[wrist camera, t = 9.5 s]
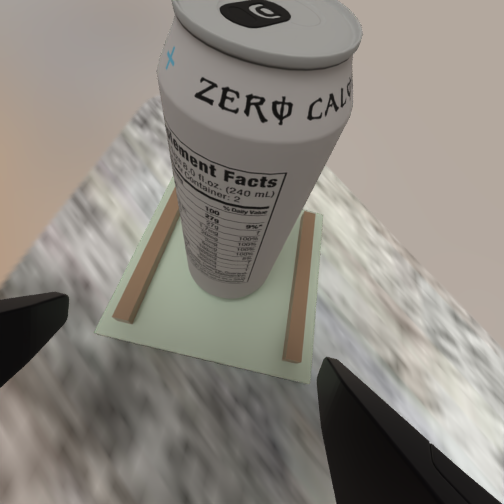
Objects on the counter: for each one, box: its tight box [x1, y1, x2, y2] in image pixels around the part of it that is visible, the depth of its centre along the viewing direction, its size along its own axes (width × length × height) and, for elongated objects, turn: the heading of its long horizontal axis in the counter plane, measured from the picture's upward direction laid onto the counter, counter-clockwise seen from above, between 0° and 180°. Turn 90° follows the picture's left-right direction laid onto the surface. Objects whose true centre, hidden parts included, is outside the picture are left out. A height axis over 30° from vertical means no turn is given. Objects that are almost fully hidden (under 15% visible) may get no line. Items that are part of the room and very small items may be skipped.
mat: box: [94, 176, 323, 384], centre depth 19 cm, size 14×14×2 cm
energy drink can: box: [157, 0, 363, 299], centre depth 13 cm, size 6×6×15 cm
